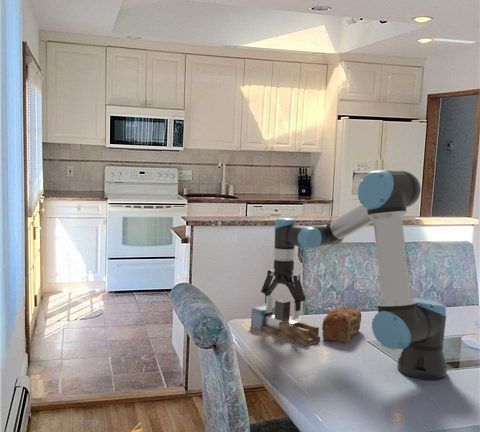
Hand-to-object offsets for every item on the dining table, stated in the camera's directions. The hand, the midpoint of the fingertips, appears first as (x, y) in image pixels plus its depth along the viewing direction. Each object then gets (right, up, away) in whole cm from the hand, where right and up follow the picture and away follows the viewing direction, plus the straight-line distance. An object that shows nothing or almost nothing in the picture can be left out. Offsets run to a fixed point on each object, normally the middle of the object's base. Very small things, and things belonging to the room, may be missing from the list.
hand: (281, 315), depth 212 cm
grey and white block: (-1, -5, +2) cm, 5 cm away
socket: (-7, -6, +7) cm, 11 cm away
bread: (+23, -8, +1) cm, 24 cm away
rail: (+1, -7, 0) cm, 7 cm away
